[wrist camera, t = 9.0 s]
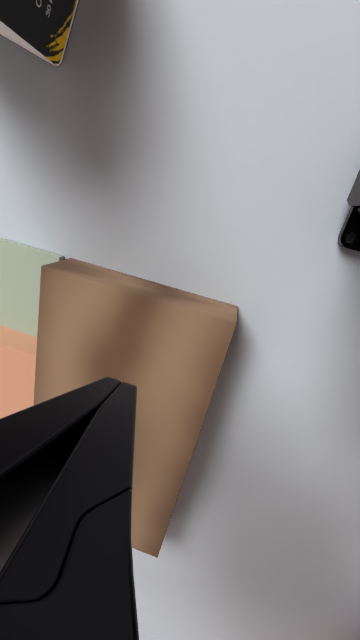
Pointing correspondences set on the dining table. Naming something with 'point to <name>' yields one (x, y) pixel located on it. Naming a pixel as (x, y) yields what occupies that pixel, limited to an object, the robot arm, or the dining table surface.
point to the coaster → (16, 370)
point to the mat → (21, 284)
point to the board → (136, 368)
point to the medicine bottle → (38, 25)
